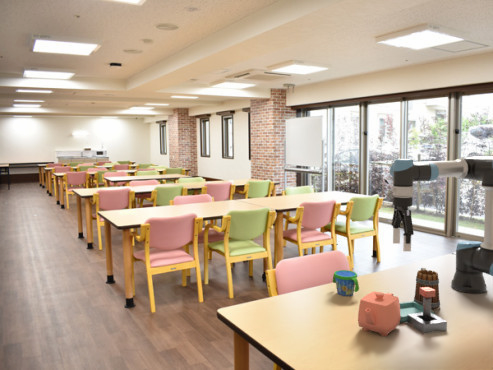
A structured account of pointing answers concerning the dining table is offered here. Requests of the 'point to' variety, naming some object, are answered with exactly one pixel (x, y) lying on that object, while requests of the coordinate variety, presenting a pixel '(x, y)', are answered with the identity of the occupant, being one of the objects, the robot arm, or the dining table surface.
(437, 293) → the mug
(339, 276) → the snack cup
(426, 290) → the rod with pink block
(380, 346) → the dining table surface
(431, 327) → the eye block
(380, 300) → the teapot
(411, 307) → the tray
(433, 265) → the dining table surface
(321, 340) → the dining table surface
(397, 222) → the robot arm
